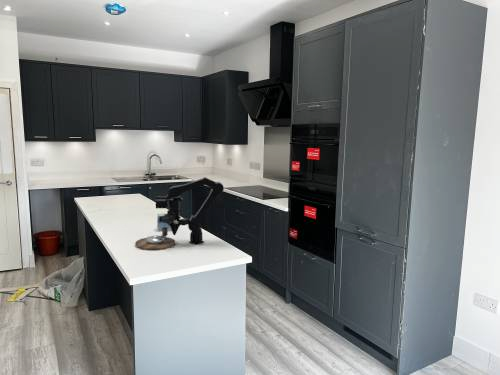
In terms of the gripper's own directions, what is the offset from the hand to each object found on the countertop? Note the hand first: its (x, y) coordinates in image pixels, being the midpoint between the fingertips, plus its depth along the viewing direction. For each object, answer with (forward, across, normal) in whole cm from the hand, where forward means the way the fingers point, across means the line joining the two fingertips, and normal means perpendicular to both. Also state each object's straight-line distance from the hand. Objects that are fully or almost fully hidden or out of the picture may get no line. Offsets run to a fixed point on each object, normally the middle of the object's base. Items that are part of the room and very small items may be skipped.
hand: (174, 234), depth 219 cm
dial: (+3, -7, -6) cm, 10 cm away
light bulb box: (+5, -24, +20) cm, 32 cm away
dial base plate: (+5, -7, -8) cm, 12 cm away
